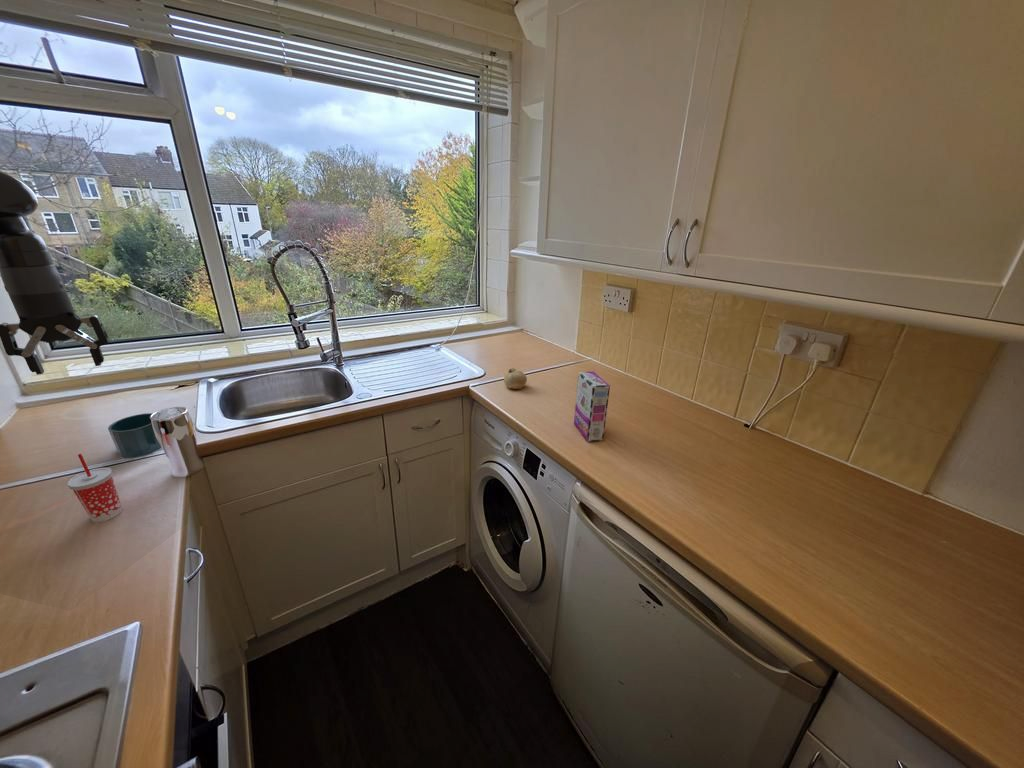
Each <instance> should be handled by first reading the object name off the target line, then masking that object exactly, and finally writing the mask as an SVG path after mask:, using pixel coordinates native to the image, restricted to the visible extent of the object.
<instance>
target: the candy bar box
mask: <svg viewBox="0 0 1024 768" xmlns="http://www.w3.org/2000/svg"><path fill="white" fill-rule="evenodd" d="M577 373H578V374H577V384H576V385H577V386H576V396H575V407H574V419H573V424H574V426H575V427H576V429H577V430H578V431H579V433H580V434H581V435H582V437H583V438H584V439H585V441H586V442H587V443H592V442H601V441H604V437H605V430H606V421H607V413H608V405H609V404H608V403H609V399H610V398H609V397H610V388H611V385H610V384H609V383H608V382H606V381H605V380H604V379H603V378H602V377H601V376H600V375H598V373H596V372H595V371H578V372H577Z"/></svg>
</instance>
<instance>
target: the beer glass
mask: <svg viewBox="0 0 1024 768" xmlns="http://www.w3.org/2000/svg"><path fill="white" fill-rule="evenodd" d="M150 420H151V424H152V428H153V431H154V434H155V437H156V439H157V441H158V443H159V445H160V446H161V449H162V451H163V453H164V455H166V457H167V458H168V460H169V463H170V468H171V476H173V477H175V478H187V477H190V476H193V475H195V474H197V473H199V472H201V471H202V470H203V469H204V468H205V463H204V461H203V460H202V458H201V457H200V454H199V451H198V443H197V433H196V428H195V425H194V421H193V420H192V417H191V414H190V413H189V411H188V408H187V407H184V406H173V407H167V408H163V409H161V410H157V411H155V412H153V414H152V415H151V416H150Z"/></svg>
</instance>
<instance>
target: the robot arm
mask: <svg viewBox="0 0 1024 768" xmlns="http://www.w3.org/2000/svg"><path fill="white" fill-rule="evenodd" d="M38 206H39V201H38V197H37V195H36V193H35V192H34V190H33V189H32V188H30V187H29V186H28V185H27V184H26V183H24V182H23V181H21V180H20V179H18V178H16V177H15V176H12V175H10V174H7V173H5V172H2V171H0V277H1V280H2V283H3V287H4V290H5V291H6V293H7V295H8V296H9V298H10V301H11V304H12V305H13V308H14V310H15V312H16V314H17V317H18V319H19V322H17V323H16V322H15V323H9V322H2V323H0V341H1V344H2V346H3V349H4V352H5V355H7V356H9V357H13V356H17V357H22V358H23V359H24V360H25V362H26V364H27V367H28V369H29V371H30V372H31V373H35V374H36V375H37V376H39V375H43V374H44V373H45V370H44V367H43V365H42V363H41V360H40V358H39V356H38V354H37V353H35V351H36V350H37V349H38V347H39V345H40V344H41V342H43V343H46V344H48V343H54V342H57V341H58V342H66V341H67V342H68V341H70V340H74V341H76V342H78V343H80V344H82V345H84V346H85V347H88V348H89V353H90V355H91V358H92V361H93V363H94V365H95V367H101V366H102V363H104V362H105V356H104V355H103V352H102V349H101V347H102V346H104V345H107V344H109V341H110V338H109V336H108V333H107V331H106V329H105V327H104V325H103V323H102V320H101V318H100V316H99V315H97V314H92V315H90V316H85V317H83V316H82V317H79V316H78V314H76V312H75V311H76V310H75V309H74V307H73V303H72V301H71V299H70V296H69V294H68V291H67V289H66V286H65V284H64V281H63V279H62V276H61V274H60V272H59V271H58V269H57V267H56V266H55V265H56V264H55V262H54V260H53V258H52V255H51V252H50V250H49V248H48V245H47V244H46V242H45V240H44V238H43V237H42V236H41V235H39V234H37V233H35V232H33V231H31V230H30V229H29V227H28V224H27V223H26V221H25V219H24V218H23V217H27V216H30V215H32V214H33V213H35V212H36V210H37V209H38ZM82 324H84V325H86V326H87V327H88V328H92V329H93V331H94V334H95V335H96V337H97V339H94V338H92V337H91V336H89V335H88V334H87V333H85V332H84V331H82V330H80V327H81V326H82ZM18 330H21V331H22V332H24V333H26V334H28V336H30V338H29V340H28V341H27V342H26V344H25V347H24V348H23V347H19V344H18V342H17V339H16V337H15V335H17V334H18V332H19V331H18Z"/></svg>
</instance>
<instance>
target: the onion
mask: <svg viewBox="0 0 1024 768" xmlns="http://www.w3.org/2000/svg"><path fill="white" fill-rule="evenodd" d="M503 382H504V385H505V386H506V387H507V388H509V389H513V390H522V388H523V387H525V385H526V384H527V382H528V378H527V376H526V374H525V373H524V372H523V371H522V370H519V369H516V368H514V367H512V368H509V369H508V370H507V372H506V373H505V375H504V377H503Z"/></svg>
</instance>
